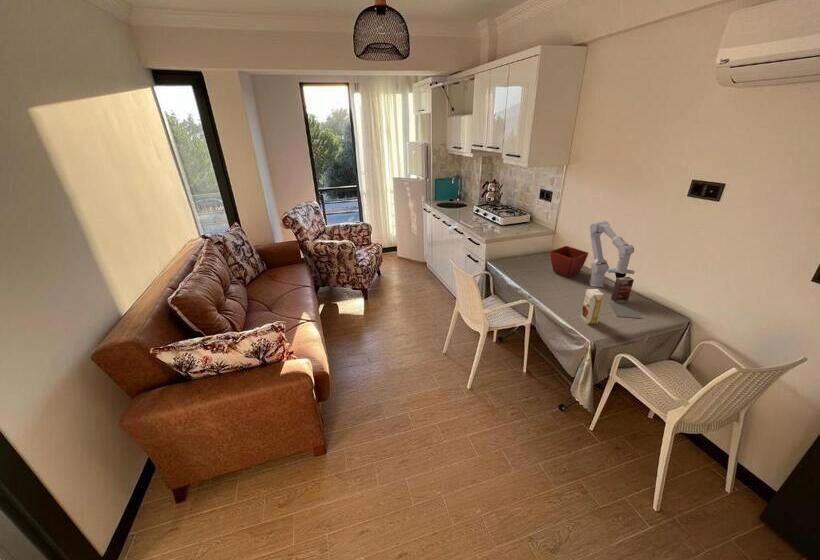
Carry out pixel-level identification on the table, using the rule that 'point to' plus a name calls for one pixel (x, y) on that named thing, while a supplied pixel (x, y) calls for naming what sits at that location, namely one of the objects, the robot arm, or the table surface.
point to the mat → (625, 310)
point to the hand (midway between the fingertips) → (617, 283)
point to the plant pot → (567, 260)
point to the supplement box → (622, 290)
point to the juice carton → (592, 306)
